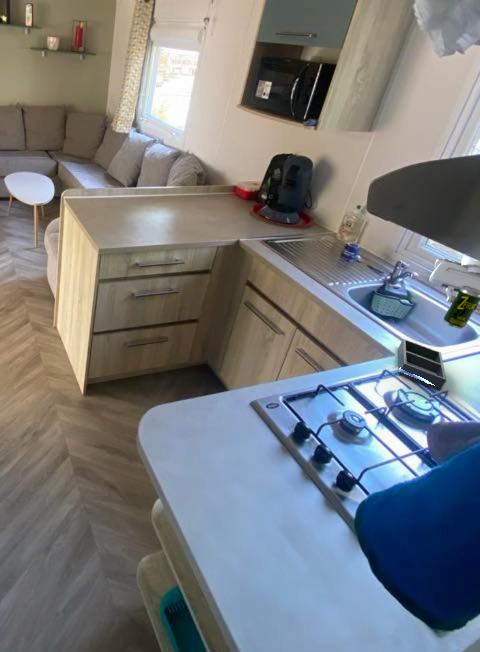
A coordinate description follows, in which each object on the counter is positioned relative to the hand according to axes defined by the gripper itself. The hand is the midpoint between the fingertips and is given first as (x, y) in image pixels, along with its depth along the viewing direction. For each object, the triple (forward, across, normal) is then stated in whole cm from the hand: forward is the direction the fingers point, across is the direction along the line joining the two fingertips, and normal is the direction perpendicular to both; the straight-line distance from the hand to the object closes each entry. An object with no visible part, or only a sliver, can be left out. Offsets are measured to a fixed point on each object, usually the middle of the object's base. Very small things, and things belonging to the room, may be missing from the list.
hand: (463, 306), depth 125 cm
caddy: (+22, -4, +5) cm, 23 cm away
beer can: (+4, 0, +5) cm, 7 cm away
